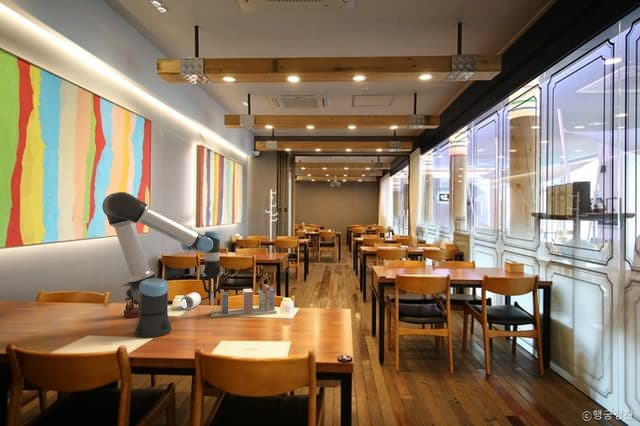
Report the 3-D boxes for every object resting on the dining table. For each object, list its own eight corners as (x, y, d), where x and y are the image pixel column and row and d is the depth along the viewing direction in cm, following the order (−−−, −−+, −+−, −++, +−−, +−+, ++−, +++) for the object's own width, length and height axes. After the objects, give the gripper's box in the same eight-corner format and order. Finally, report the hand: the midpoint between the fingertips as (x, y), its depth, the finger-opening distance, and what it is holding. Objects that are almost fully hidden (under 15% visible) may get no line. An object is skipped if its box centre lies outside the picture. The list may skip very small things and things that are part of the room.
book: (252, 312, 200) (252, 291, 201) (244, 313, 199) (244, 292, 199) (251, 308, 209) (251, 288, 209) (242, 309, 208) (242, 289, 208)
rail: (276, 313, 203) (276, 287, 203) (211, 318, 193) (211, 290, 194) (273, 308, 214) (273, 283, 214) (211, 312, 204) (211, 286, 204)
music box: (137, 319, 189) (134, 280, 190) (117, 320, 191) (114, 281, 191) (154, 312, 204) (151, 275, 205) (135, 313, 206) (133, 276, 206)
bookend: (228, 313, 197) (228, 294, 197) (222, 314, 196) (222, 295, 196) (227, 309, 205) (227, 291, 206) (221, 310, 205) (221, 291, 205)
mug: (201, 306, 220) (201, 292, 220) (193, 310, 210) (193, 296, 210) (181, 305, 221) (181, 291, 221) (173, 309, 211) (173, 295, 211)
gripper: (224, 259, 205) (224, 302, 204) (199, 259, 201) (199, 304, 201) (225, 260, 197) (225, 305, 197) (199, 261, 194) (198, 307, 194)
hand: (212, 304), depth 199 cm, fingers closed
